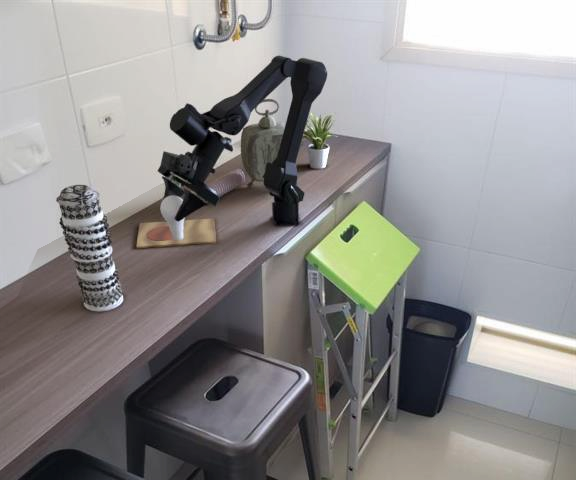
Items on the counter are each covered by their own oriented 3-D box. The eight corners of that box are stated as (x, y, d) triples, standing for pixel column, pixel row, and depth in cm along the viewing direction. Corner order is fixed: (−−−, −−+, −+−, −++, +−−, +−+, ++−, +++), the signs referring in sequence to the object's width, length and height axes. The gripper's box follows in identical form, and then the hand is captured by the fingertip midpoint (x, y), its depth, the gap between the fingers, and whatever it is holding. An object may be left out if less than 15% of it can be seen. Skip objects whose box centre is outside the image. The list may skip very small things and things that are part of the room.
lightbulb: (195, 236, 143) (189, 192, 136) (184, 248, 138) (177, 203, 131) (173, 233, 144) (166, 189, 137) (161, 244, 140) (153, 200, 133)
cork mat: (214, 219, 161) (213, 217, 160) (216, 242, 150) (215, 240, 150) (139, 224, 159) (139, 222, 158) (136, 248, 148) (136, 246, 148)
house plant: (313, 154, 200) (313, 102, 190) (348, 162, 194) (350, 109, 183) (288, 166, 191) (288, 113, 181) (324, 175, 185) (325, 120, 174)
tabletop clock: (288, 180, 182) (287, 93, 166) (297, 191, 175) (297, 101, 159) (242, 186, 179) (237, 97, 163) (250, 197, 172) (246, 106, 156)
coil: (210, 190, 165) (247, 170, 177) (197, 185, 167) (234, 165, 179) (210, 205, 168) (246, 185, 180) (197, 200, 170) (234, 180, 182)
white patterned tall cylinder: (110, 315, 124) (82, 201, 108) (73, 308, 127) (41, 195, 111) (133, 294, 131) (110, 183, 115) (98, 287, 133) (70, 178, 117)
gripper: (158, 126, 134) (123, 186, 136) (202, 147, 123) (163, 212, 124) (192, 153, 143) (159, 209, 145) (236, 175, 131) (199, 235, 133)
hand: (169, 216), depth 136 cm, fingers closed on lightbulb, 6 cm apart
